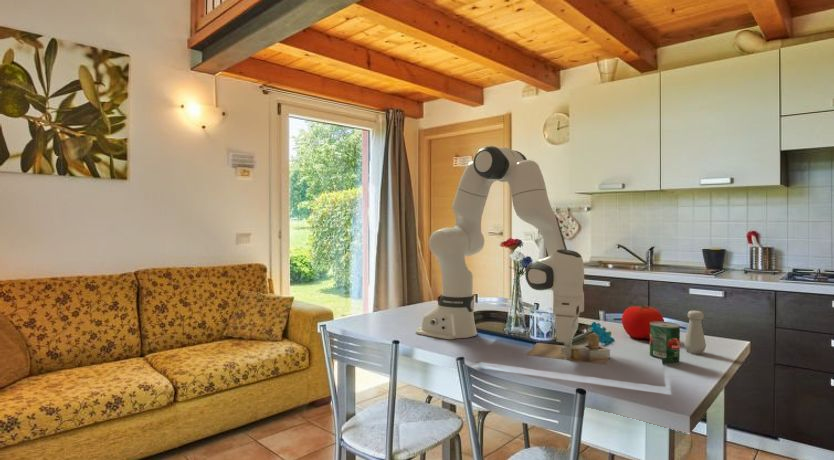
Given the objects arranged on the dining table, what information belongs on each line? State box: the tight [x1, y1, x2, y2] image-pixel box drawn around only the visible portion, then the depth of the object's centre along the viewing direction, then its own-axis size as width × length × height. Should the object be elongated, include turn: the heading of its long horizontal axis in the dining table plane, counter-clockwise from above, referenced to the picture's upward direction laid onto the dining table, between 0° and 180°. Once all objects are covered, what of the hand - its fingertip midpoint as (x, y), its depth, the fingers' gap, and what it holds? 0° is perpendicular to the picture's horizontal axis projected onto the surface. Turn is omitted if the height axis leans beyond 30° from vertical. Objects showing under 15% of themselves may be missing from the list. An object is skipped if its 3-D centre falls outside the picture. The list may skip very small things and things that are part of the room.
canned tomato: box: [649, 321, 681, 366], centre depth 139 cm, size 8×8×11 cm
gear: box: [589, 321, 615, 346], centre depth 157 cm, size 11×6×10 cm
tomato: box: [621, 304, 665, 340], centre depth 166 cm, size 13×14×12 cm
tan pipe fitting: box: [561, 343, 611, 360], centre depth 139 cm, size 13×6×3 cm, turn 102°
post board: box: [526, 333, 608, 365], centre depth 142 cm, size 22×15×8 cm
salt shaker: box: [684, 310, 707, 355], centre depth 147 cm, size 6×6×13 cm
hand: (568, 350), depth 141 cm, fingers closed
